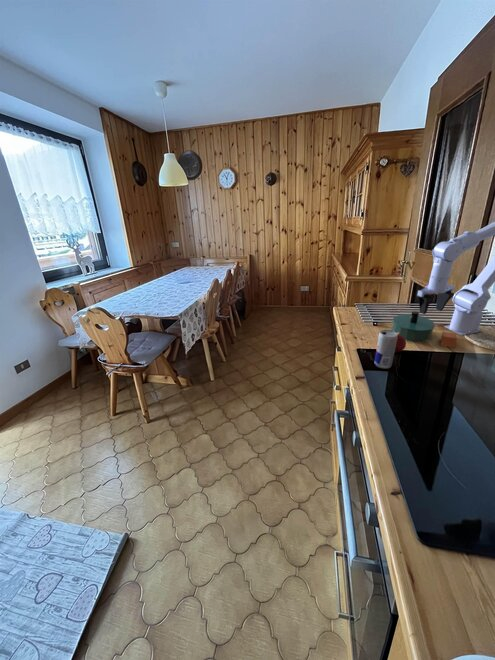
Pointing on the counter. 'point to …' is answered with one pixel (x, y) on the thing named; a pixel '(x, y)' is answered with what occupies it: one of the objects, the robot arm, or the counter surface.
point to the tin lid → (413, 322)
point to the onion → (400, 343)
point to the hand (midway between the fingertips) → (430, 311)
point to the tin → (412, 334)
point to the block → (448, 339)
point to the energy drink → (385, 349)
